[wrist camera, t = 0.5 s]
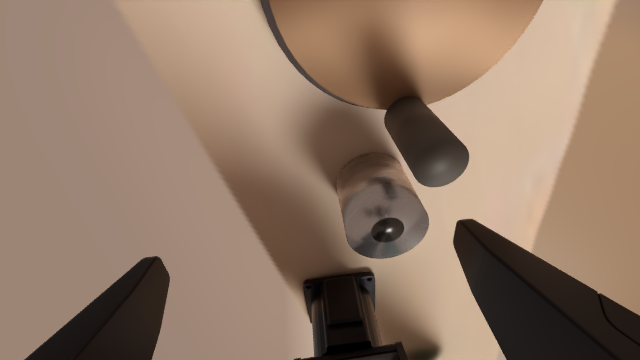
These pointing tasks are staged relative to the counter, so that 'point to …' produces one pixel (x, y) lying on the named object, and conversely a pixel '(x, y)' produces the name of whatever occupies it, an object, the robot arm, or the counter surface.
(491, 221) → the counter surface
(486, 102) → the counter surface
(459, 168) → the turntable
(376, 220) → the cover
